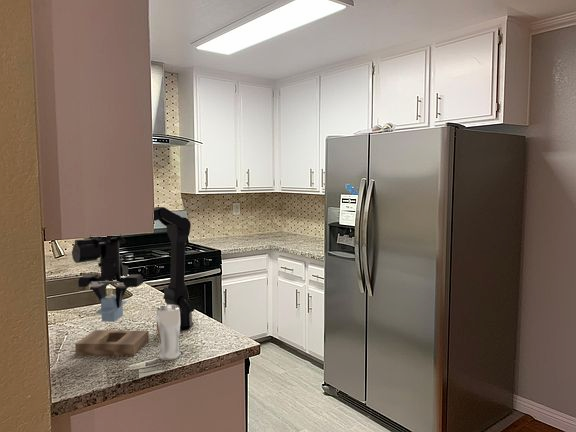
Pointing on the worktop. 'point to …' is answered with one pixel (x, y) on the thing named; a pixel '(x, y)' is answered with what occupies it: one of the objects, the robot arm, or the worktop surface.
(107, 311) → the block
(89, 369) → the worktop surface
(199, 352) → the worktop surface
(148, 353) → the worktop surface
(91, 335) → the plate
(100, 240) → the robot arm
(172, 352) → the beer glass
